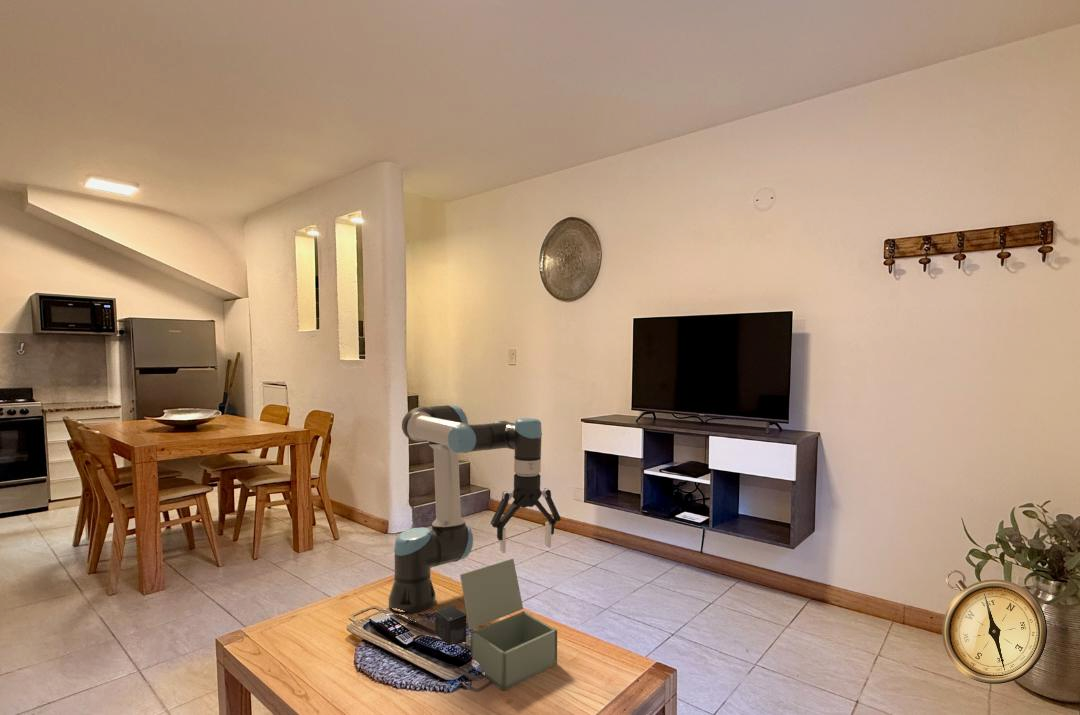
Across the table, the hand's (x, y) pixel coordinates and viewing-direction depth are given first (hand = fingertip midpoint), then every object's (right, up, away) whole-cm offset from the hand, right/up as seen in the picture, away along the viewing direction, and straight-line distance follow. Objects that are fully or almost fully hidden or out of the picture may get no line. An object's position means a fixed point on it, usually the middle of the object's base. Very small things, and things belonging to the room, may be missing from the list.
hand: (525, 548), depth 149 cm
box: (-21, -27, -3) cm, 35 cm away
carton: (-3, -27, -10) cm, 29 cm away
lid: (-9, -11, -2) cm, 15 cm away
